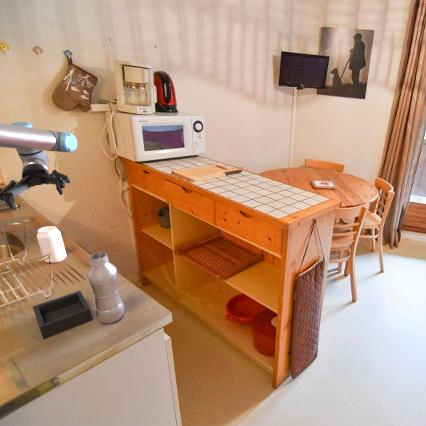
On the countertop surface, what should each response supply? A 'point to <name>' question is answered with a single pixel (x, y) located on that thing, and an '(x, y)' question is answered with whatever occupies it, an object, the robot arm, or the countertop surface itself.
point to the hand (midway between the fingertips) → (35, 198)
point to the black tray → (62, 314)
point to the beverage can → (51, 243)
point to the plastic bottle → (105, 288)
